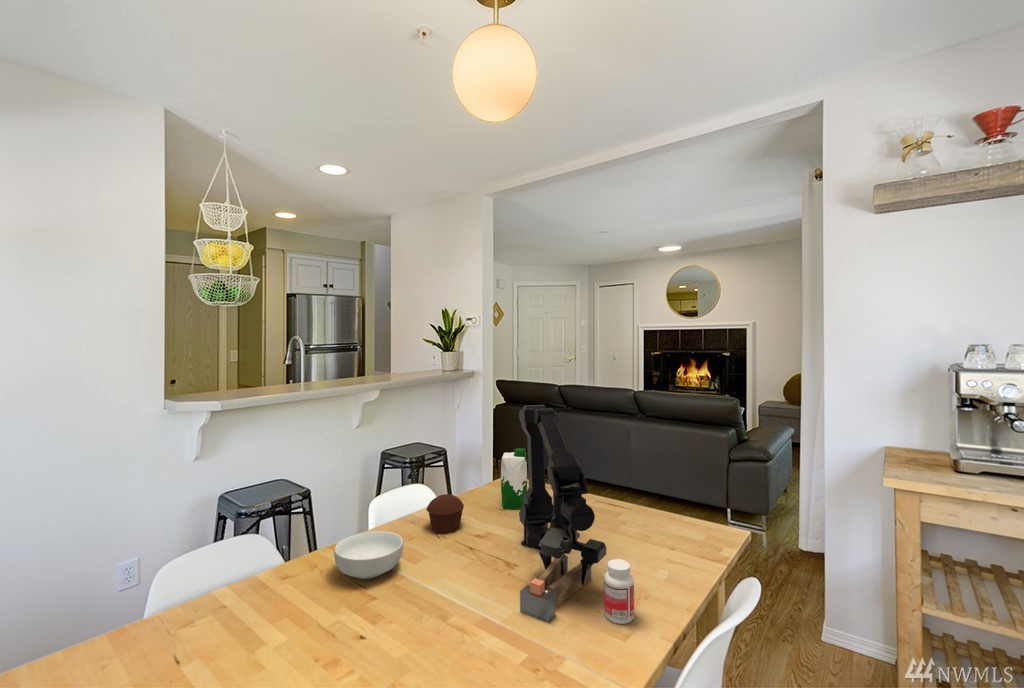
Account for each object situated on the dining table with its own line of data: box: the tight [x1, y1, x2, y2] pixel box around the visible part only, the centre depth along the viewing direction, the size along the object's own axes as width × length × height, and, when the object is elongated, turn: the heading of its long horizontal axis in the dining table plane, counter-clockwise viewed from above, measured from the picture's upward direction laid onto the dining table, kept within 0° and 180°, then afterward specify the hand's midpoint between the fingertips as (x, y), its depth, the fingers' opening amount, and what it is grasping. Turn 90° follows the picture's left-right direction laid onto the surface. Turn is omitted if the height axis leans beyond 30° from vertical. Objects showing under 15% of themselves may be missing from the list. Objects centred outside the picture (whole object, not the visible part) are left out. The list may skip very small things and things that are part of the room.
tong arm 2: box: [548, 562, 592, 609], centre depth 105 cm, size 16×2×4 cm, turn 140°
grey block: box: [519, 584, 556, 623], centre depth 98 cm, size 7×4×5 cm, turn 57°
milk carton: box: [500, 447, 528, 511], centre depth 160 cm, size 9×9×20 cm
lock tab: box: [529, 577, 545, 596], centre depth 97 cm, size 2×2×2 cm
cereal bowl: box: [333, 530, 404, 580], centre depth 116 cm, size 17×17×7 cm
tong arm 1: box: [538, 553, 569, 590], centre depth 108 cm, size 16×2×4 cm, turn 154°
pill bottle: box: [603, 558, 635, 625], centre depth 96 cm, size 6×6×11 cm
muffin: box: [426, 493, 465, 535], centre depth 141 cm, size 12×11×10 cm
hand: (565, 578), depth 109 cm, fingers open, 9 cm apart
